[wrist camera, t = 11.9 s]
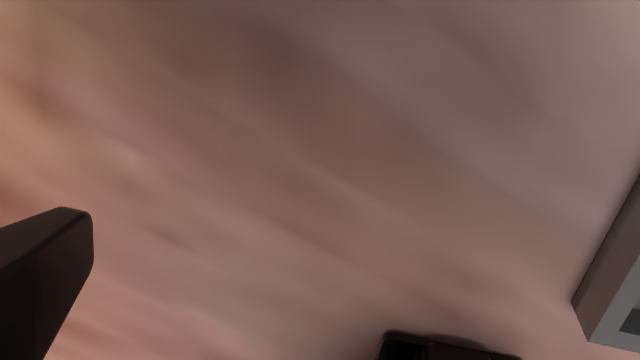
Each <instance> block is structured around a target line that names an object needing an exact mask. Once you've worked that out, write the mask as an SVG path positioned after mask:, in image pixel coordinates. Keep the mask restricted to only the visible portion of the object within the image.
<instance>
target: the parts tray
mask: <svg viewBox="0 0 640 360" xmlns="http://www.w3.org/2000/svg"><path fill="white" fill-rule="evenodd" d="M571 304H572V306H573V308H574V311H575V313H576V315H577V318H578V320H579V322H580V325H581V327H582V329H583V332H584V334H585V336H586V339H587V341H588V342H591V343H596V344H601V345H605V346H610V347H615V348H619V349H624V350H628V351H633V352H638V353H640V176H639V178H638V180H637V181H636V183H635V185H634V187H633V189H632V191H631V192H630V194H629V196H628V198H627V200H626V202H625V203H624V205H623V207H622V209H621V211H620V213H619V215H618V216H617V218H616V220H615V222H614V224H613V226H612V227H611V229H610V231H609V233H608V235H607V237H606V238H605V240H604V242H603V244H602V246H601V248H600V250H599V251H598V253H597V255H596V257H595V259H594V261H593V262H592V264H591V266H590V268H589V270H588V272H587V274H586V275H585V277H584V279H583V281H582V283H581V285H580V286H579V288H578V290H577V292H576V294H575V296H574V297H573V299H572V301H571Z"/></svg>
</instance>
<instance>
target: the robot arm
mask: <svg viewBox="0 0 640 360" xmlns="http://www.w3.org/2000/svg"><path fill="white" fill-rule="evenodd" d="M93 261H94V244H93V222H92V218H91V215H90V214H89V213H87V212H85V211H81V210H77V209H73V208H68V207H57V208H54V209H51V210H49V211H46V212H43V213H40V214H37V215H35V216H32V217H29V218H26V219H24V220H21V221H18V222H15V223H12V224H10V225H7V226H4V227H1V228H0V360H43V359H44V357H45V355H46V354H47V352H48V350H49V348H50V346H51V344H52V343H53V341H54V339H55V337H56V335H57V333H58V332H59V330H60V328H61V326H62V324H63V322H64V320H65V319H66V317H67V315H68V313H69V311H70V309H71V308H72V306H73V304H74V302H75V300H76V298H77V296H78V295H79V293H80V291H81V289H82V287H83V285H84V283H85V282H86V280H87V278H88V276H89V274H90V272H91V269H92V266H93ZM390 343H395V345H391V344H390ZM375 360H518V359H514V358H509V357H504V356H500V355H495V354H491V353H486V352H481V351H477V350H472V349H468V348H463V347H459V346H454V345H449V344H445V343H440V342H436V341H431V340H426V339H422V338H417V337H413V336H408V335H404V334H399V333H392V332H391V333H387V334H385V335H384V336H383V338H382V340H381V344H380V347H379V350H378V353H377V356H376V359H375Z"/></svg>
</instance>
